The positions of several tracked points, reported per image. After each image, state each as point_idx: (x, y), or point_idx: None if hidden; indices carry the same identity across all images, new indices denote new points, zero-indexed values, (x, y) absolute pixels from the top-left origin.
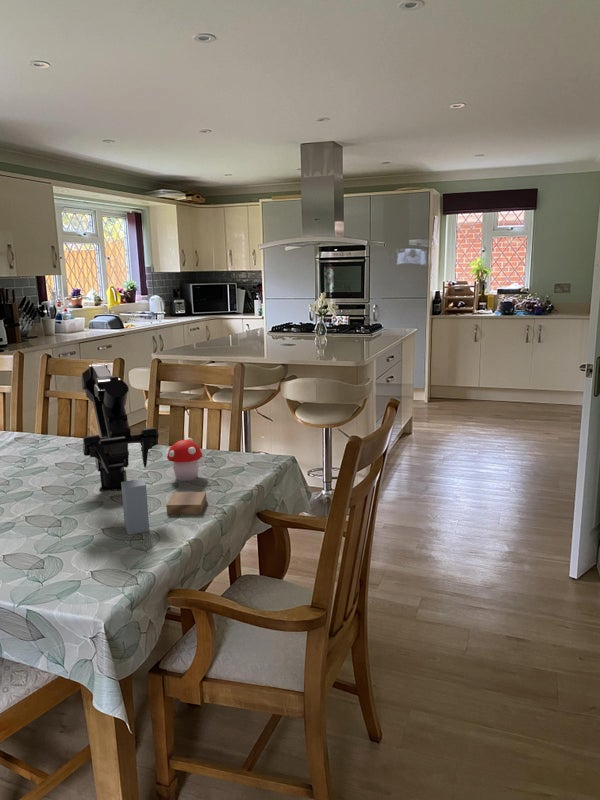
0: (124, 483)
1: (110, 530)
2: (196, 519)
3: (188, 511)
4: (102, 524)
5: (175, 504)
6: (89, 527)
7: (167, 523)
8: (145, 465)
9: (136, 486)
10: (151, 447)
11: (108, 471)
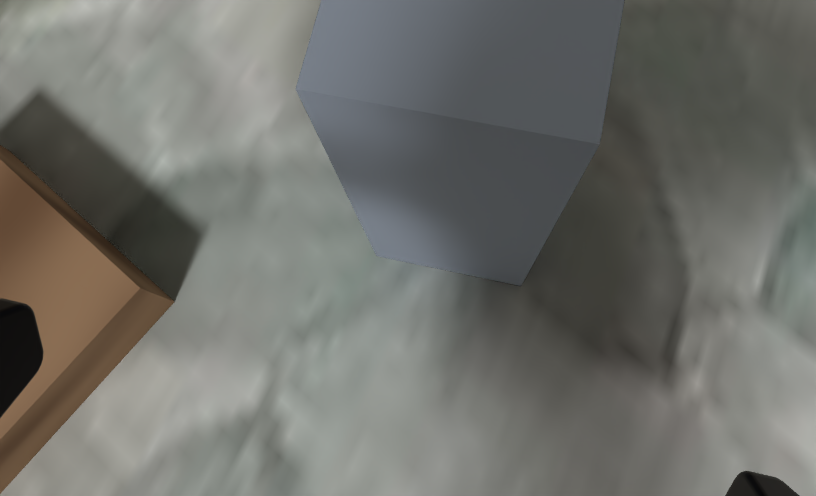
0: (578, 60)
1: (628, 303)
2: (87, 89)
3: (54, 195)
4: (644, 456)
5: (82, 250)
6: (751, 471)
7: (259, 152)
8: (15, 301)
9: None
10: None
11: (766, 478)
